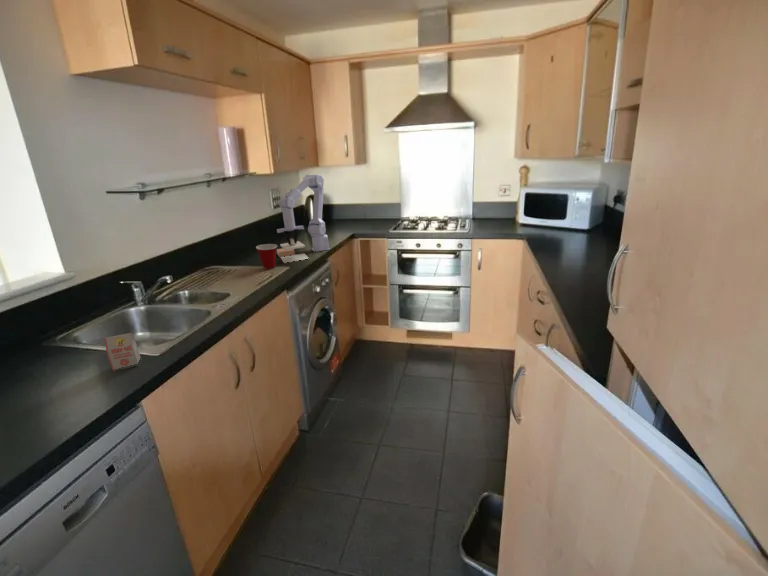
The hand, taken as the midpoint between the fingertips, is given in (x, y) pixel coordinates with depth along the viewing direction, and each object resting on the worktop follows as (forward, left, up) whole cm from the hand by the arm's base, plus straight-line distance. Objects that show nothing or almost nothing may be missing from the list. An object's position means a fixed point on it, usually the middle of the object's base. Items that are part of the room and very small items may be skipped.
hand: (292, 243), depth 225 cm
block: (+3, -13, -8) cm, 16 cm away
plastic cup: (+15, +12, -9) cm, 21 cm away
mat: (0, 0, -8) cm, 8 cm away
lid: (0, -1, -2) cm, 2 cm away
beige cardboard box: (+66, +99, -9) cm, 119 cm away
